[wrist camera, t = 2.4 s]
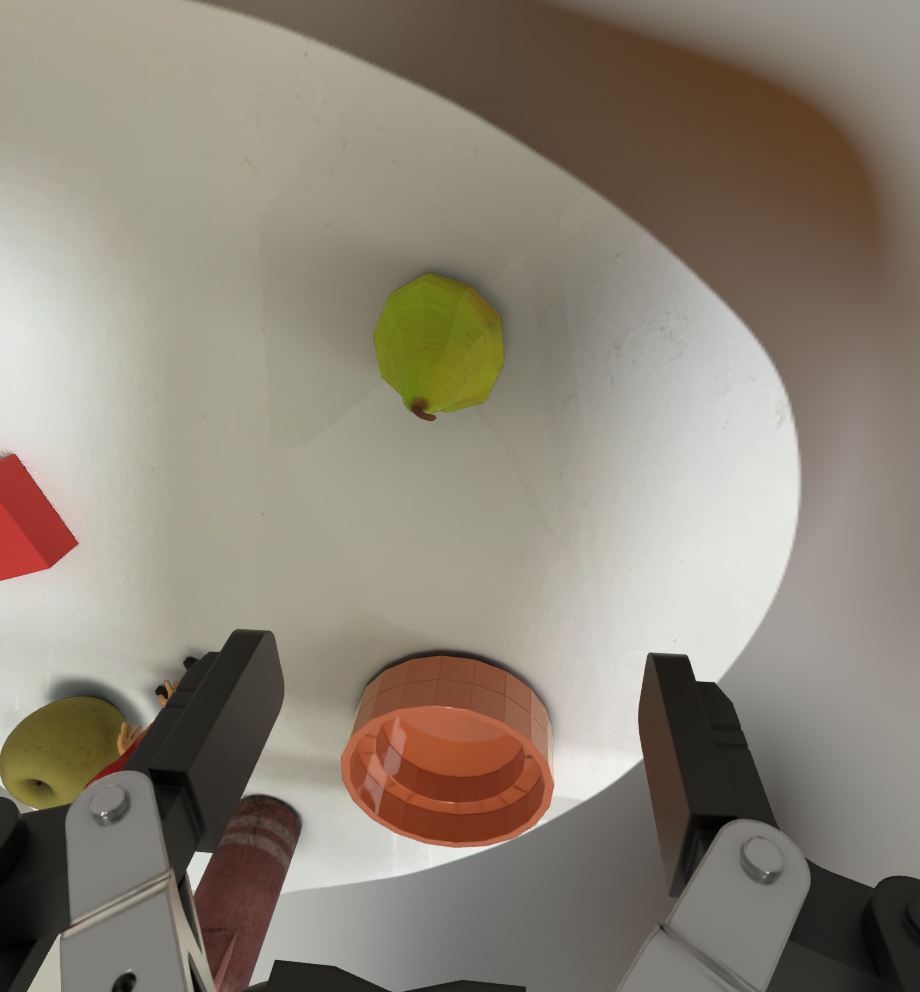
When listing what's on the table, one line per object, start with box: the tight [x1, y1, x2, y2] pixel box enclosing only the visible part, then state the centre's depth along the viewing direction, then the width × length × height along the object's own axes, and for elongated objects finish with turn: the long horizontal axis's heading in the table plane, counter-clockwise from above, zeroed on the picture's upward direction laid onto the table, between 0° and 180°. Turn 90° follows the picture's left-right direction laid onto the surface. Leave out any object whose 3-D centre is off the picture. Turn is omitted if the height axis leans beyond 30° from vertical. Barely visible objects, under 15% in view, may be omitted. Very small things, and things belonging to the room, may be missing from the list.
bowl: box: [341, 656, 554, 848], centre depth 44 cm, size 14×14×5 cm
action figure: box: [84, 658, 197, 790], centre depth 40 cm, size 10×4×15 cm, turn 137°
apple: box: [0, 696, 129, 810], centre depth 46 cm, size 8×8×7 cm
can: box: [193, 797, 301, 992], centre depth 48 cm, size 6×6×14 cm
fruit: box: [373, 273, 505, 421], centre depth 27 cm, size 6×6×12 cm
